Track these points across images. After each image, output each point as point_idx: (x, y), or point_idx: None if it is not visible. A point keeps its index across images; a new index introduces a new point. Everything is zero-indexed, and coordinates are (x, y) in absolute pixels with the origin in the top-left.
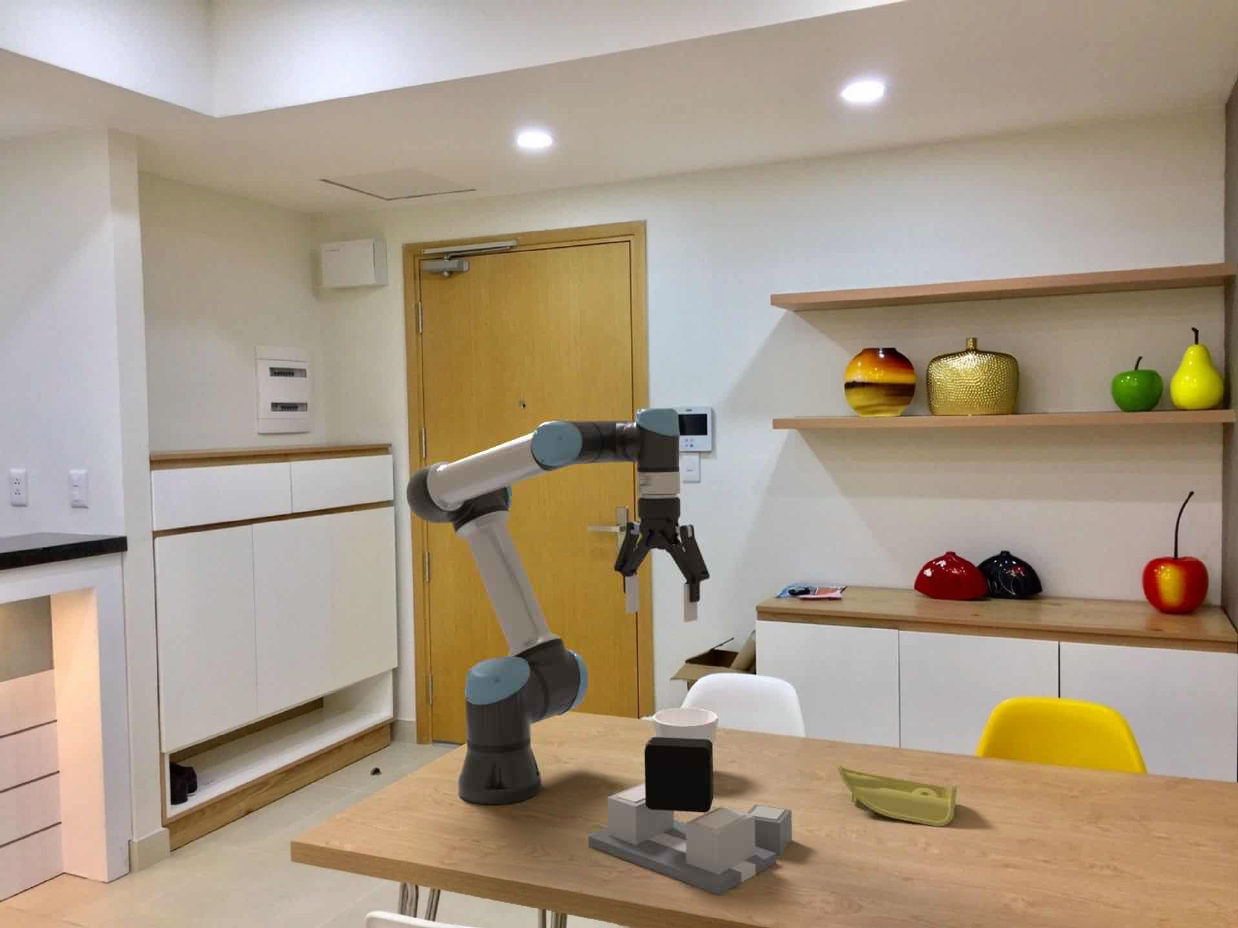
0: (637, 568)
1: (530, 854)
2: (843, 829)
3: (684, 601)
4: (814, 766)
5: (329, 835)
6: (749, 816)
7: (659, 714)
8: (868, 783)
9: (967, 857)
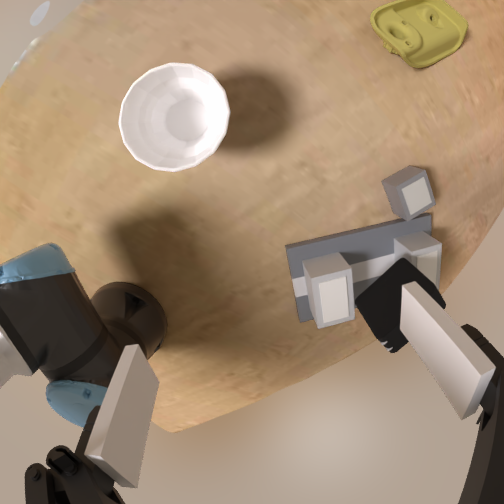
0: (98, 489)
1: (281, 356)
2: (420, 110)
3: (432, 370)
4: None
5: (167, 423)
6: (439, 248)
7: (128, 140)
8: (418, 49)
9: (490, 96)
